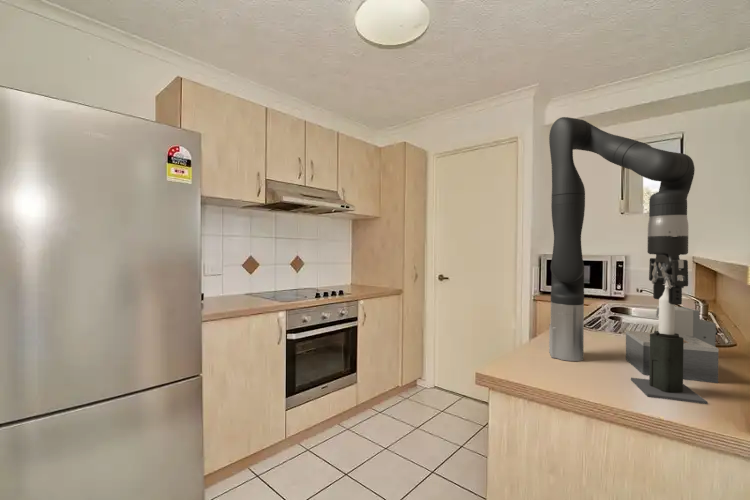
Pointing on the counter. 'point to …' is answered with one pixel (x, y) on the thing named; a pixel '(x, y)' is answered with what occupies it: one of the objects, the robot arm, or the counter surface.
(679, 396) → the mat
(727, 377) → the counter surface
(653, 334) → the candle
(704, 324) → the circuit breaker
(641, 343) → the box
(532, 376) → the counter surface
